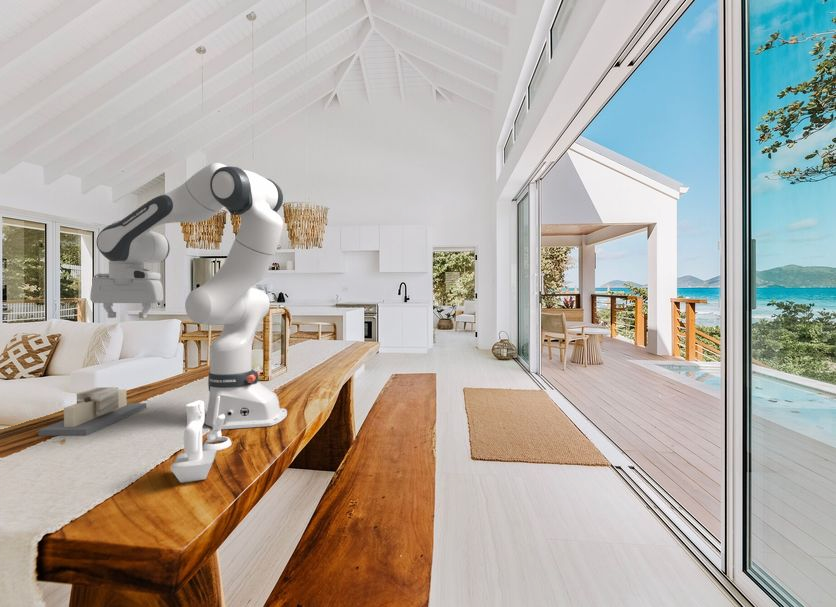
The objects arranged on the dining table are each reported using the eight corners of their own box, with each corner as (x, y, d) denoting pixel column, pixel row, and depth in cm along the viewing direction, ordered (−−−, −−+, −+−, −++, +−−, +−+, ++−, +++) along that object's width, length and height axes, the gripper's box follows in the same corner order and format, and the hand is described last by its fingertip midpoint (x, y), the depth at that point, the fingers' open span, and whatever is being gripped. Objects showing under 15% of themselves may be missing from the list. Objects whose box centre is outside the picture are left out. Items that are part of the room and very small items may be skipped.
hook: (224, 437, 89) (206, 422, 90) (212, 465, 93) (194, 450, 94) (244, 423, 95) (227, 409, 96) (232, 450, 99) (216, 435, 100)
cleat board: (146, 407, 126) (146, 387, 126) (86, 435, 102) (85, 410, 102) (107, 408, 125) (107, 388, 125) (38, 435, 101) (37, 410, 101)
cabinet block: (118, 408, 117) (118, 387, 117) (98, 416, 110) (98, 394, 109) (96, 408, 117) (96, 387, 117) (74, 416, 109) (74, 394, 109)
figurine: (168, 490, 74) (167, 411, 74) (180, 468, 83) (179, 398, 82) (211, 483, 76) (210, 407, 76) (218, 463, 85) (217, 395, 85)
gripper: (84, 272, 119) (85, 318, 119) (153, 273, 120) (154, 318, 120) (100, 273, 125) (101, 317, 126) (165, 274, 126) (166, 317, 126)
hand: (127, 317), depth 123 cm, fingers open, 8 cm apart
